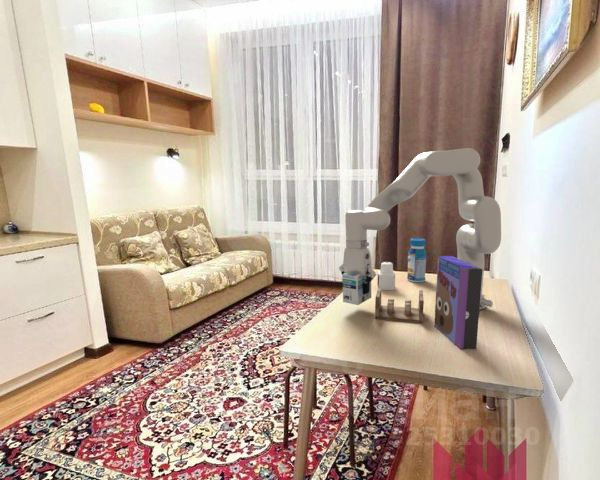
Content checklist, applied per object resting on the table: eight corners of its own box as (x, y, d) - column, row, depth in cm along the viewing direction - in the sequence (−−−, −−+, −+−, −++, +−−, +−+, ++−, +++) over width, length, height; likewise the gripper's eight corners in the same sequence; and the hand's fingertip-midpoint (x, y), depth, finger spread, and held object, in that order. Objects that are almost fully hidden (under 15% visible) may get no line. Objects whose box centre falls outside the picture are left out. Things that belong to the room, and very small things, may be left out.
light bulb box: (358, 305, 135) (357, 276, 133) (342, 302, 139) (341, 274, 137) (372, 297, 143) (371, 269, 141) (356, 294, 147) (355, 267, 145)
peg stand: (422, 323, 129) (423, 300, 128) (374, 318, 133) (375, 297, 132) (421, 311, 140) (422, 290, 139) (377, 307, 145) (378, 287, 143)
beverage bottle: (422, 283, 176) (425, 241, 173) (404, 281, 180) (406, 239, 177) (427, 279, 183) (429, 238, 180) (409, 277, 188) (411, 237, 184)
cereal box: (434, 326, 127) (438, 255, 123) (447, 325, 127) (452, 255, 123) (460, 349, 110) (466, 268, 106) (476, 348, 110) (482, 268, 106)
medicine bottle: (377, 285, 174) (378, 259, 172) (393, 286, 173) (394, 260, 171) (378, 290, 167) (379, 263, 165) (394, 290, 166) (395, 264, 164)
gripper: (382, 245, 133) (383, 293, 137) (344, 240, 146) (345, 284, 149) (370, 248, 128) (370, 298, 131) (331, 243, 141) (332, 289, 144)
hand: (357, 290), depth 140 cm, fingers closed on light bulb box, 7 cm apart
